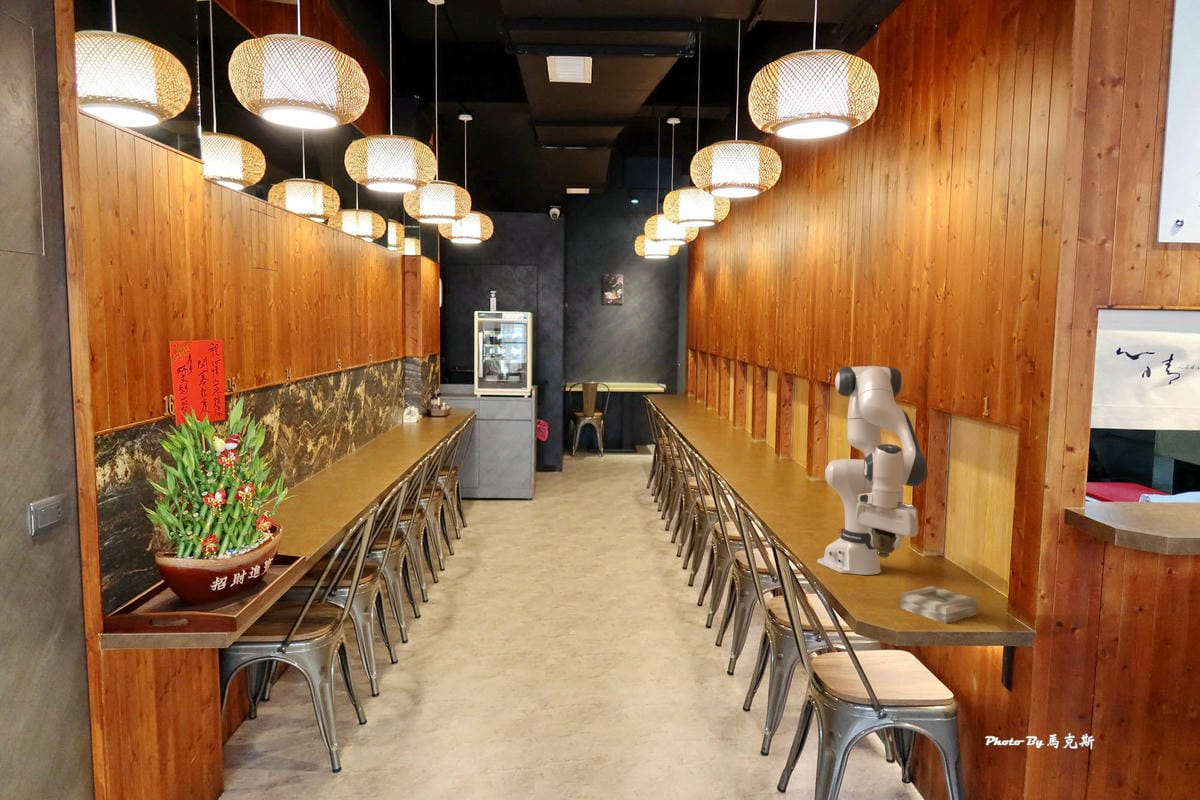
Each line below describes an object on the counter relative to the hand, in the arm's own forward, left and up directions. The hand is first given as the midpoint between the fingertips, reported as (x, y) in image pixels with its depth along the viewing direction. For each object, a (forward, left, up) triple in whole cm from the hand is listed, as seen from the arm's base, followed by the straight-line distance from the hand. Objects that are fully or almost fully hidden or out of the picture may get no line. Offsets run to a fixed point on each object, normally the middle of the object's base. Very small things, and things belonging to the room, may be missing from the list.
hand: (885, 545), depth 235 cm
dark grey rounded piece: (-1, 0, -4) cm, 4 cm away
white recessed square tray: (+11, +11, -19) cm, 25 cm away
